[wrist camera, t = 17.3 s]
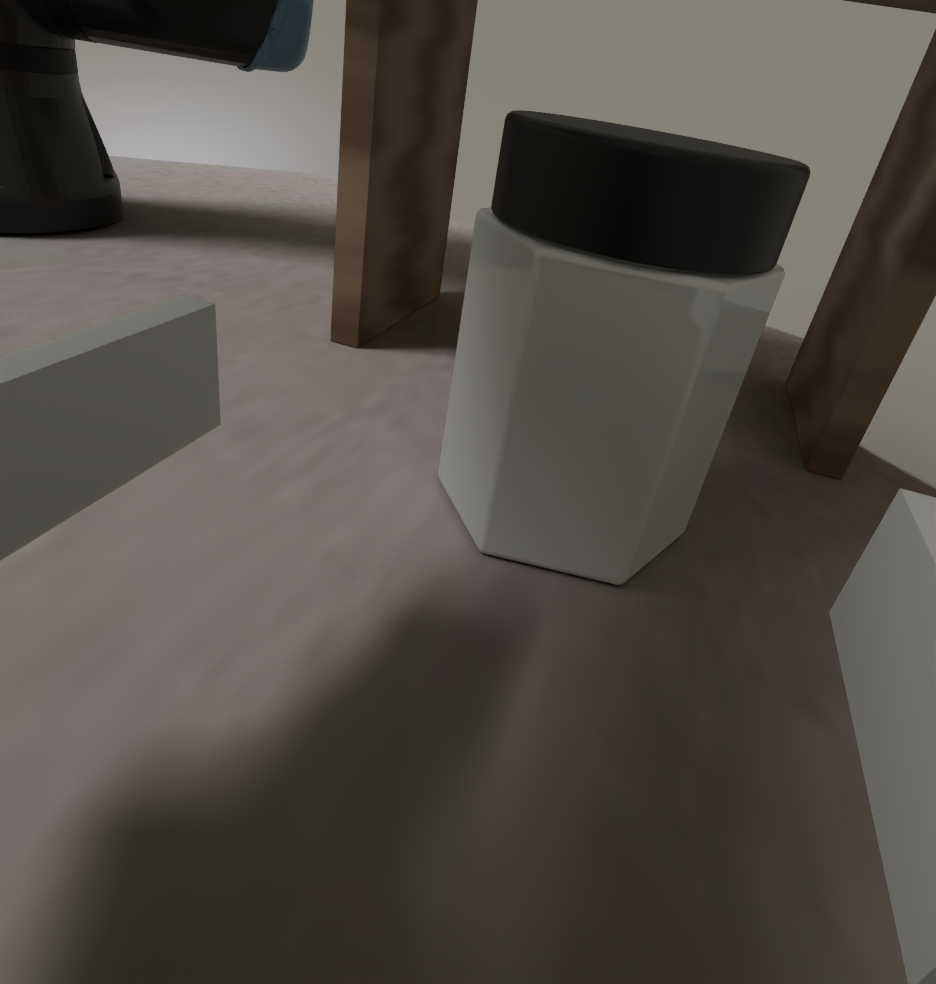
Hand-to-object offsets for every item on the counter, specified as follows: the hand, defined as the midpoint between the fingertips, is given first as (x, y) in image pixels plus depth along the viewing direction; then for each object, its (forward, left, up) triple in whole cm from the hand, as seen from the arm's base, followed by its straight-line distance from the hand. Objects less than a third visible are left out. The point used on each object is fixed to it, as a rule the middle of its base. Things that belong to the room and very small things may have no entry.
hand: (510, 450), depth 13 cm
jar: (-1, +10, -7) cm, 12 cm away
